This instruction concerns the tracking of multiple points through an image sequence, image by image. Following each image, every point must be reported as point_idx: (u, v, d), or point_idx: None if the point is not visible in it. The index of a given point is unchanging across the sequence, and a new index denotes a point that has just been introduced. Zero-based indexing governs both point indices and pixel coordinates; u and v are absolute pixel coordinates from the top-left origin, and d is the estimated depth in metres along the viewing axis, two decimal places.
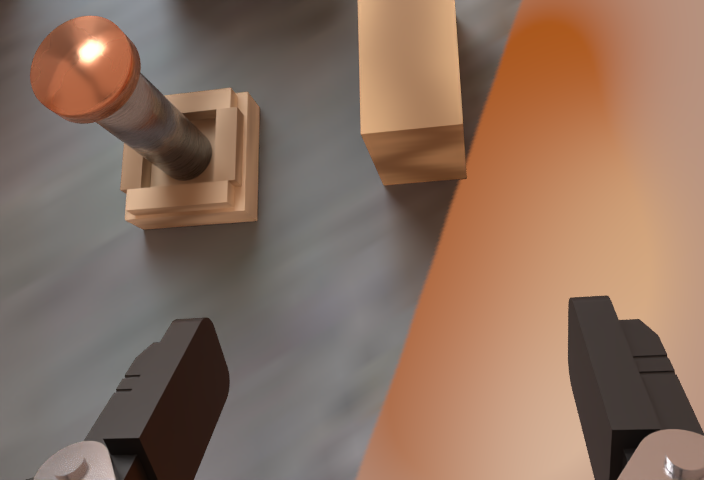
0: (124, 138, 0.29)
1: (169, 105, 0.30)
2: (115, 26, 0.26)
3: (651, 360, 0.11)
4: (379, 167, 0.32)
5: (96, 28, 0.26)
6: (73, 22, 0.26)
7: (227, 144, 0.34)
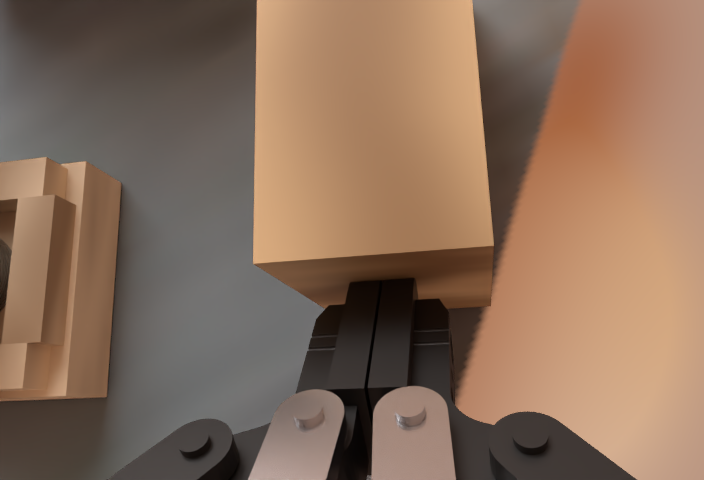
0: None
1: None
2: None
3: (434, 332, 0.13)
4: (317, 299, 0.16)
5: None
6: None
7: (32, 269, 0.18)
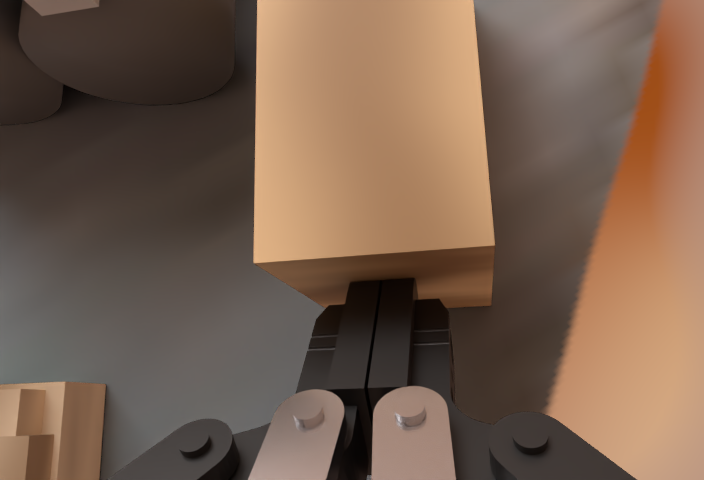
0: None
1: None
2: None
3: (434, 332, 0.13)
4: (318, 298, 0.16)
5: None
6: None
7: None
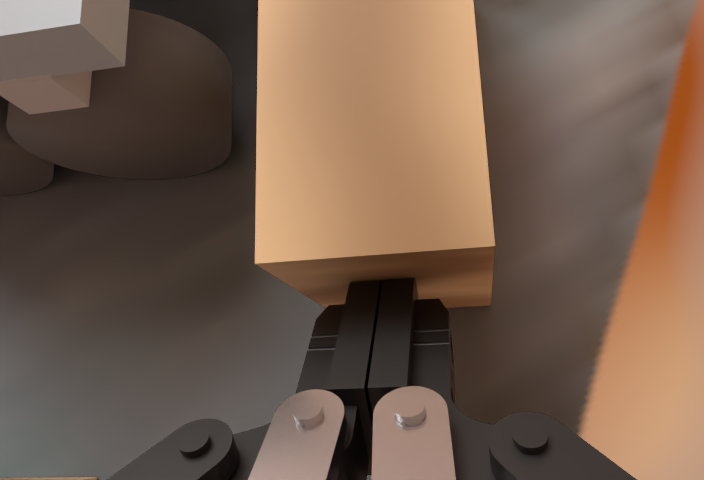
0: None
1: None
2: None
3: (434, 332, 0.13)
4: (318, 298, 0.16)
5: None
6: None
7: None
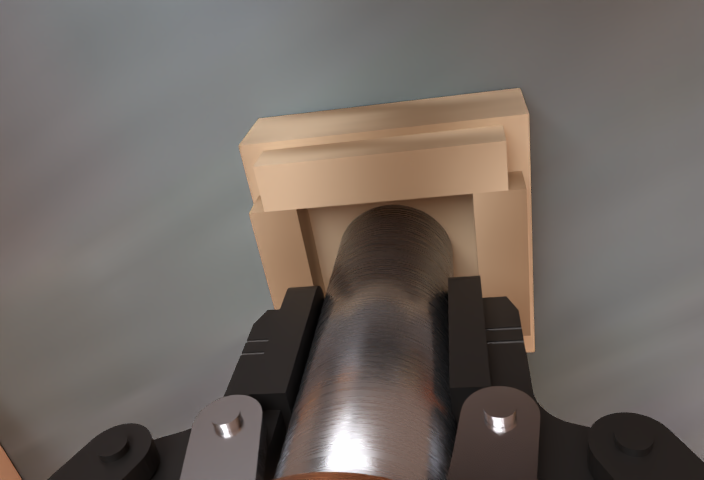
0: None
1: None
2: None
3: (506, 331, 0.12)
4: None
5: None
6: None
7: (508, 270, 0.15)
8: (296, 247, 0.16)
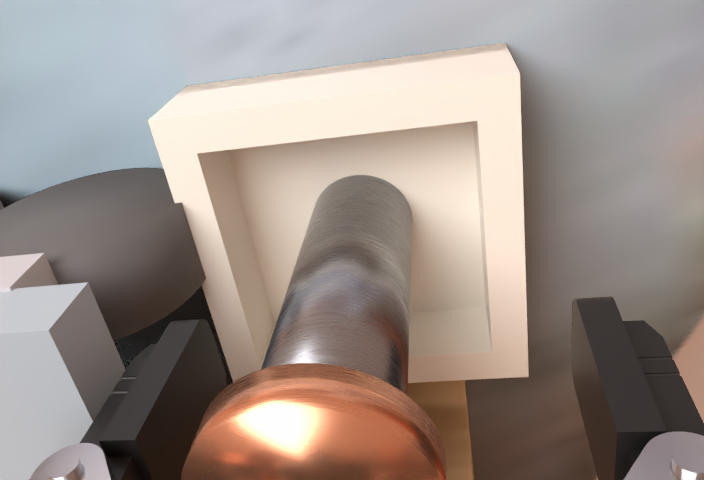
0: None
1: (404, 302, 0.14)
2: (399, 442, 0.09)
3: (656, 362, 0.11)
4: None
5: (341, 440, 0.10)
6: (265, 418, 0.09)
7: None
8: None
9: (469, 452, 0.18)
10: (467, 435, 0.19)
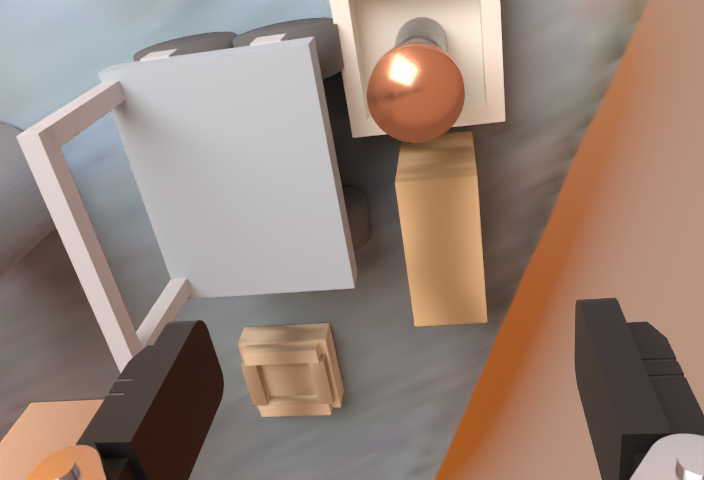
0: None
1: None
2: (448, 60, 0.27)
3: (660, 363, 0.11)
4: None
5: (428, 61, 0.28)
6: (402, 53, 0.28)
7: (322, 384, 0.49)
8: (256, 375, 0.49)
9: (474, 157, 0.36)
10: (473, 153, 0.37)
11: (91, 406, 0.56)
